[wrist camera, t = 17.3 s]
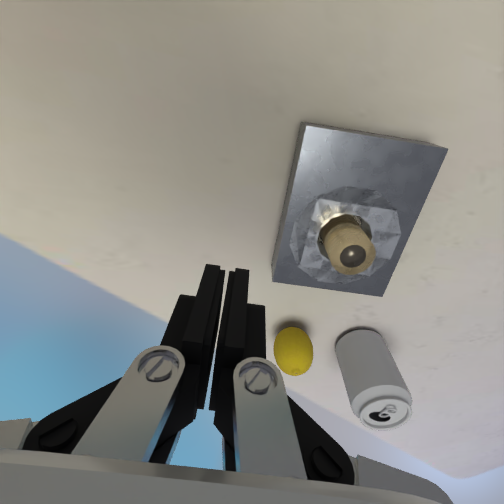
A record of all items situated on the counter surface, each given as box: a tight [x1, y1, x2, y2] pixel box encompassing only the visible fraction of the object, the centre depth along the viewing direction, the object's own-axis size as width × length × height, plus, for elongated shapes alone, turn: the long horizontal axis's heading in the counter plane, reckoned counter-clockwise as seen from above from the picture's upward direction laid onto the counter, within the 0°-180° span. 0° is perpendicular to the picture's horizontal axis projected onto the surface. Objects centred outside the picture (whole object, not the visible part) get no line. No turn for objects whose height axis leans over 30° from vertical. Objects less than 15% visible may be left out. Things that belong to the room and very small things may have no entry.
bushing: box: [319, 214, 376, 275], centre depth 34 cm, size 4×4×8 cm
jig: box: [271, 122, 448, 297], centre depth 34 cm, size 18×14×4 cm
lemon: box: [274, 327, 313, 376], centre depth 42 cm, size 6×6×8 cm
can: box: [335, 330, 412, 431], centre depth 41 cm, size 8×8×12 cm
